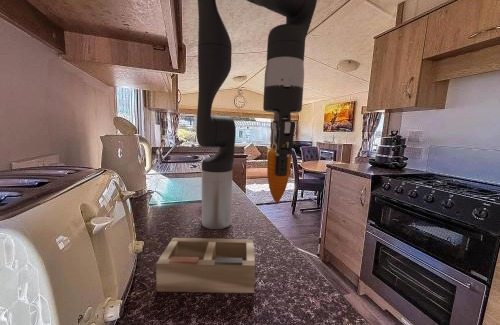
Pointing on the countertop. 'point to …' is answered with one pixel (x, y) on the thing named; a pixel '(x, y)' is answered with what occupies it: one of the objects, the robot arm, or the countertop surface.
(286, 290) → the countertop surface
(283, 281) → the countertop surface
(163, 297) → the countertop surface
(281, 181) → the carrot
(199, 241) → the frame
